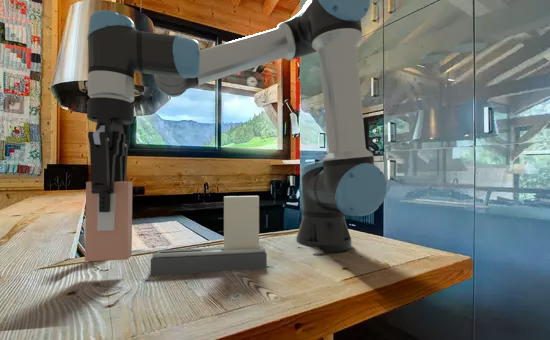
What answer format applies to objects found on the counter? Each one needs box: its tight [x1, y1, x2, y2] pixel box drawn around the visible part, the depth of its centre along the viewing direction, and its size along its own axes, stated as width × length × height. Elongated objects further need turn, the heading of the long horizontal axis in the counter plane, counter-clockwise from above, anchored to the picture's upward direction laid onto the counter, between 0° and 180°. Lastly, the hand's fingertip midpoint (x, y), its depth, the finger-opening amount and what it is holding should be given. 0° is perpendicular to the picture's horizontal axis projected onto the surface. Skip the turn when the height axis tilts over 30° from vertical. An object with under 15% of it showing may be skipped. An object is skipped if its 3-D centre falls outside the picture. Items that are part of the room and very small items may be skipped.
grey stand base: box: [150, 245, 268, 277], centre depth 58 cm, size 22×6×5 cm, turn 100°
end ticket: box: [84, 181, 134, 262], centre depth 53 cm, size 7×2×14 cm, turn 100°
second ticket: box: [223, 195, 260, 250], centre depth 60 cm, size 7×2×14 cm, turn 100°
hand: (109, 228), depth 53 cm, fingers closed on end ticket, 2 cm apart
